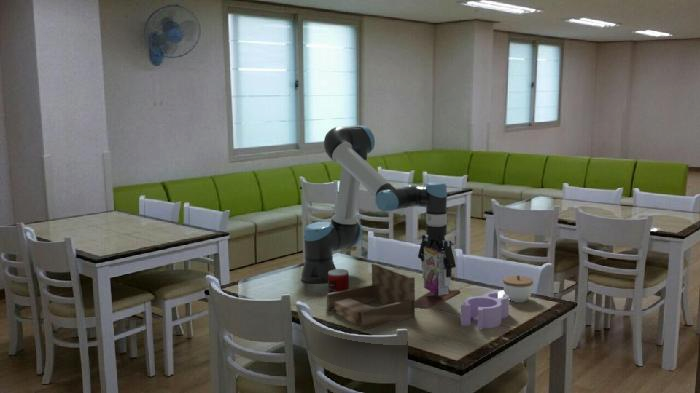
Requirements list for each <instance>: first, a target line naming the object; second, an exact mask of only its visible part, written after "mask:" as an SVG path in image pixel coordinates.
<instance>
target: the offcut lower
mask: <svg viewBox="0 0 700 393" xmlns="http://www.w3.org/2000/svg"><path fill="white" fill-rule="evenodd" d="M335 314H336V315H338V314H339V315H338V316H340V317H341V318H344V319H345V320H347V321H349V322H350V323H352V324H353V325H355V326H358V325H361V319H359V320H357V319H355V318H353V317H351V316H349V315H347V314H344V313H342V312H340V311H338V310H336V309H335Z"/></svg>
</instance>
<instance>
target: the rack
mask: <svg viewBox="0 0 700 393" xmlns="http://www.w3.org/2000/svg"><path fill="white" fill-rule="evenodd" d="M415 278H416V277H414V276H412V275H409V274H406V273H404V272H401V271H399V270H395V269H393V268H390V267H388V266H385V265H382V264H381V263H380V264H379V263H376V262H372V263H371V284H366V285H361V286H357V287H352V288H349V289H347V290H342V291H337V292H332V293H329V292H328V293H326V310H327V311H330V310H331V311H334V310H333V309H334V302H337V301H341V300H346V299H350V298H351V299H353V300H355V301H358V302H360V303H363V304H365V303H369V302H374V301H375V302H377V303H379V304H382V305H381V306H376V307H372V308H371V309H367V310H363V311H361V324H360V325H361V326H360V327H361V329H362V330H367V329H372V328H376V327H379V326H382V325H386V324H391V323H394V322H399V321H402V320H406V319H410V318H415V316H416V308H415V300H416V298H415V297H416V296H415V295H416V293H415V292H416V290H415V289H416V287H415V286H416V285H415V284H416V282H415V281H416V280H415Z"/></svg>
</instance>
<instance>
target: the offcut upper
mask: <svg viewBox="0 0 700 393" xmlns="http://www.w3.org/2000/svg"><path fill="white" fill-rule="evenodd" d="M371 308H373V307H371V306H370V305H367V304H365V303H360V302H358V301H355V300H353V299H351V298H350V299H346V300H341V301H337V302H334V309H335V311H336V310H338V311H340V312H342V313H344V314H347V315H349V316H351V317H353V318H355V319H357V320H359V319H361V311H363V310H367V309H371Z"/></svg>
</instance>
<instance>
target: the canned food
mask: <svg viewBox="0 0 700 393" xmlns="http://www.w3.org/2000/svg"><path fill="white" fill-rule="evenodd" d="M349 273H350V272H349V270H347V269H343V268H336V269H334V270H331V271H329V272H328V282H327V288H328V290H327V291H328V293H332V292H337V291H342V290H347V289H350V286H349V285H350V280H349V279H350V278H349V277H350V275H349Z"/></svg>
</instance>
